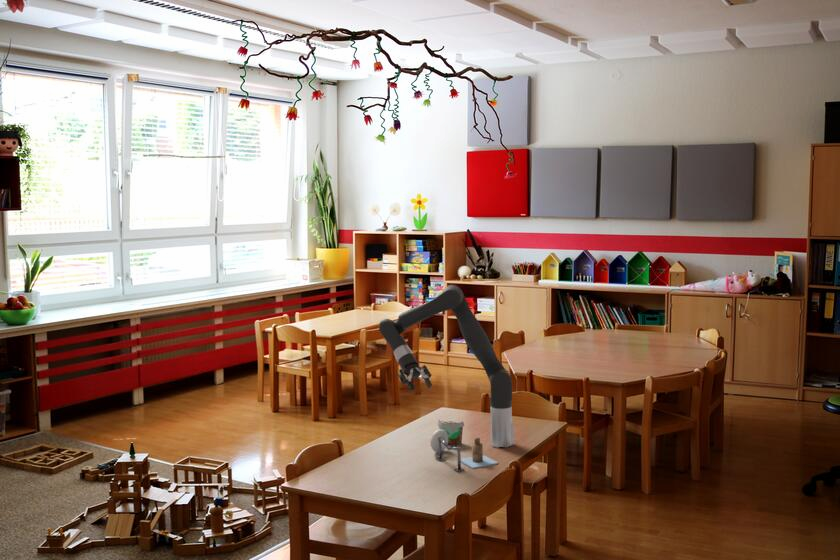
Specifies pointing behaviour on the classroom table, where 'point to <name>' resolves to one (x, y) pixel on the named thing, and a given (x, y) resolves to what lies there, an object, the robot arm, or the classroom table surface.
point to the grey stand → (449, 449)
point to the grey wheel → (434, 440)
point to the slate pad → (474, 465)
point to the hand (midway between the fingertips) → (422, 388)
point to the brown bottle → (477, 450)
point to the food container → (452, 431)
